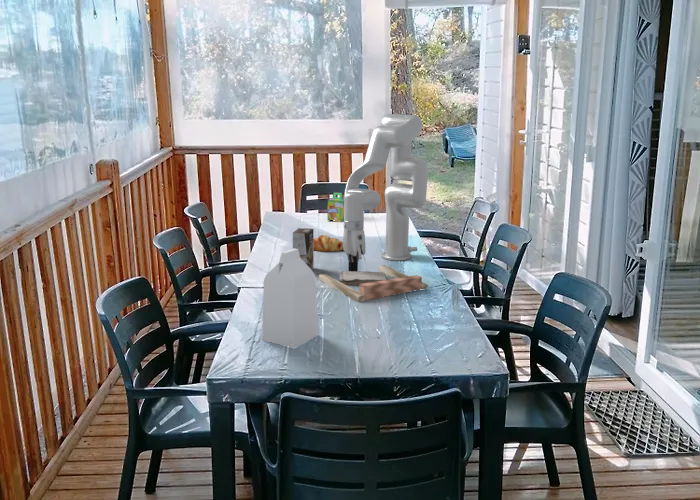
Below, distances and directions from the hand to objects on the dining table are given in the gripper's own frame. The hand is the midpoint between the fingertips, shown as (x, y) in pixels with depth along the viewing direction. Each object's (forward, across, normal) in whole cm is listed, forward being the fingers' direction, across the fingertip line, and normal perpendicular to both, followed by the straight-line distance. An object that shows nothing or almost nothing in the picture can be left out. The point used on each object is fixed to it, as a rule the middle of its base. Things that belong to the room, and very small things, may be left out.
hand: (353, 271), depth 252 cm
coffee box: (+2, +15, +14) cm, 21 cm away
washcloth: (+2, -8, 0) cm, 8 cm away
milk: (+2, -48, +48) cm, 67 cm away
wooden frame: (+2, -14, 0) cm, 14 cm away
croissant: (+2, +40, -9) cm, 41 cm away
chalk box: (+2, +95, -44) cm, 105 cm away
